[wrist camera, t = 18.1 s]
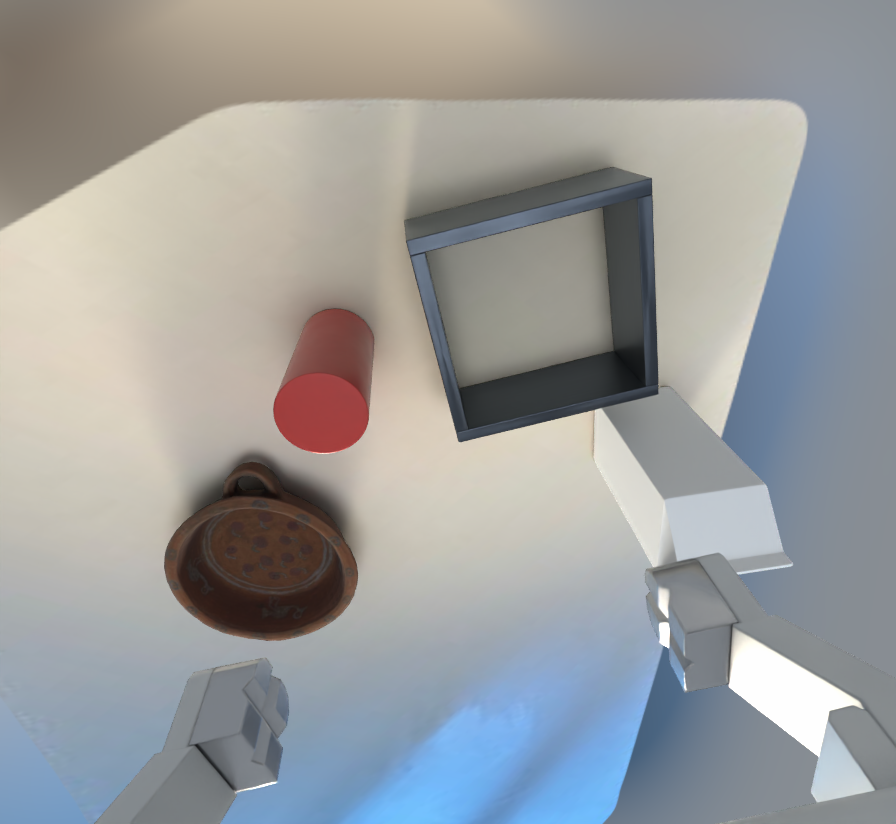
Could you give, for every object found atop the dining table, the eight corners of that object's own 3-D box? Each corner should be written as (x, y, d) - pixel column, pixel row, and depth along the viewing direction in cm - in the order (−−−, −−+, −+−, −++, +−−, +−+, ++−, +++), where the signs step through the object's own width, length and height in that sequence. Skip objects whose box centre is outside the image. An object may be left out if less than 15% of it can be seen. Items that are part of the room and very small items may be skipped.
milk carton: (593, 395, 50) (692, 540, 33) (669, 385, 50) (805, 523, 34) (592, 459, 53) (680, 617, 37) (663, 448, 54) (782, 602, 37)
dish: (352, 447, 50) (349, 480, 46) (366, 611, 61) (364, 649, 57) (156, 454, 49) (133, 488, 45) (206, 621, 60) (191, 661, 55)
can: (289, 318, 44) (257, 385, 33) (361, 300, 44) (352, 362, 33) (315, 382, 47) (293, 463, 36) (382, 366, 47) (380, 442, 36)
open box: (403, 220, 41) (405, 240, 35) (613, 166, 40) (652, 178, 34) (450, 400, 49) (458, 442, 43) (625, 358, 48) (658, 394, 42)
